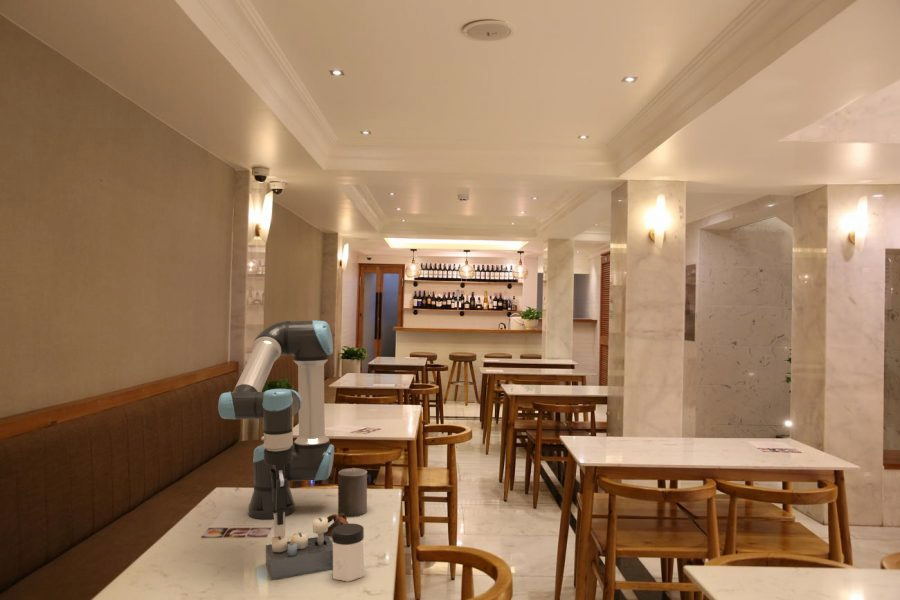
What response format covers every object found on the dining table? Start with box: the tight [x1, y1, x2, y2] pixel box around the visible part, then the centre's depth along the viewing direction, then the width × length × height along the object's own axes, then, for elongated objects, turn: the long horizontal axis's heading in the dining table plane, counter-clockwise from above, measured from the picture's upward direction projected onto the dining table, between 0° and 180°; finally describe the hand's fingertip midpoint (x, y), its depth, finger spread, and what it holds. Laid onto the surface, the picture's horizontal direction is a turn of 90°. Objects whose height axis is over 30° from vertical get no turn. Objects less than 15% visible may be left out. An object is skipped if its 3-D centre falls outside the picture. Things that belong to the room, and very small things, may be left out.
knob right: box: [312, 516, 329, 546], centre depth 173 cm, size 4×4×8 cm
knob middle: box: [292, 531, 309, 549], centre depth 170 cm, size 4×4×8 cm
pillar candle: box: [337, 467, 368, 518], centre depth 212 cm, size 10×10×15 cm
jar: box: [331, 522, 365, 583], centre depth 164 cm, size 9×8×12 cm
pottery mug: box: [324, 513, 350, 538], centre depth 190 cm, size 12×10×8 cm
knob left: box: [271, 534, 288, 553], centre depth 168 cm, size 4×4×8 cm
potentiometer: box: [288, 536, 297, 556], centre depth 166 cm, size 2×2×4 cm
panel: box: [265, 535, 333, 581], centre depth 170 cm, size 11×17×5 cm, turn 113°
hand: (279, 535), depth 168 cm, fingers closed
